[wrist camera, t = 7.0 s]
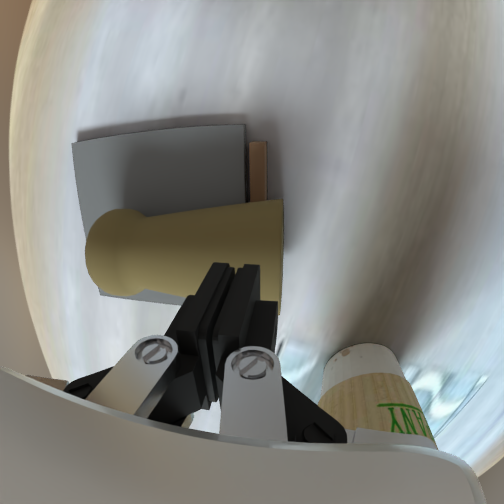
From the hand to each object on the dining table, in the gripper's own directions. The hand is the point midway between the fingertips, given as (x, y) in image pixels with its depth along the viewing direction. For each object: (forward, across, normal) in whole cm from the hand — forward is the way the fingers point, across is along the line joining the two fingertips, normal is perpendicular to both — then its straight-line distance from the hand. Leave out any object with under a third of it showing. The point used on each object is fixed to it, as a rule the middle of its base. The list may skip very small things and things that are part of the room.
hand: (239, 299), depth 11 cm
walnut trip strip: (+8, 0, 0) cm, 8 cm away
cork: (+5, -2, +1) cm, 5 cm away
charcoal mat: (+8, +7, 0) cm, 11 cm away
